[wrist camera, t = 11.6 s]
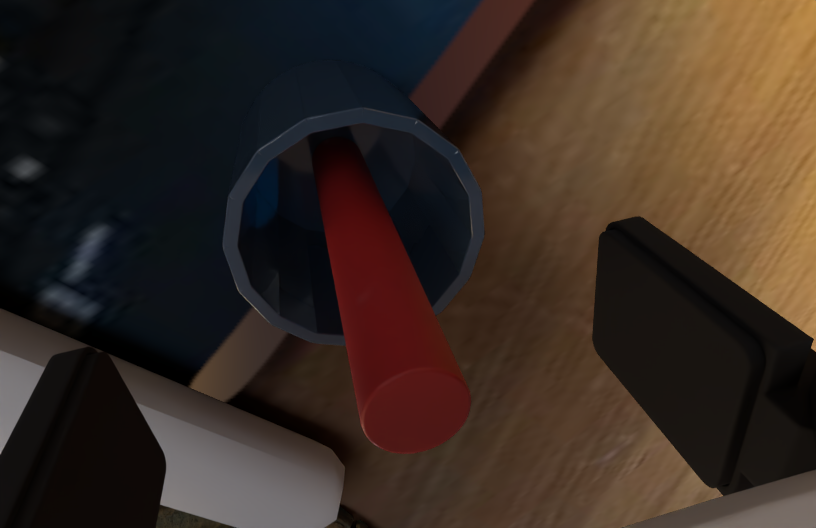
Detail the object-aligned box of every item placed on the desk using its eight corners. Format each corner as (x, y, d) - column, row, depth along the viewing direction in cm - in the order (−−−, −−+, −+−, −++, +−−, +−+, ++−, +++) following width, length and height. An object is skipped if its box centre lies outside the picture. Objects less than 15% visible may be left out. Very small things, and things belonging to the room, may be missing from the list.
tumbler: (215, 78, 20) (184, 141, 13) (407, 44, 20) (475, 85, 14) (268, 250, 23) (265, 370, 16) (429, 214, 24) (490, 315, 17)
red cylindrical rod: (306, 142, 21) (351, 386, 9) (357, 131, 21) (467, 357, 9) (318, 189, 22) (371, 467, 10) (366, 179, 22) (476, 438, 10)
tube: (379, 486, 26) (-333, 202, 14) (318, 581, 26) (-455, 372, 14) (344, 430, 31) (-212, 182, 19) (293, 511, 31) (-302, 310, 19)
